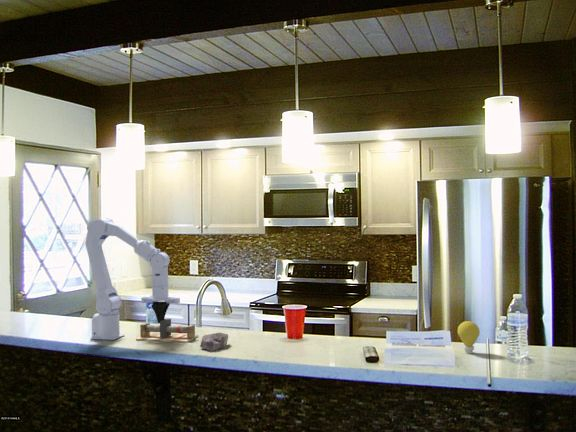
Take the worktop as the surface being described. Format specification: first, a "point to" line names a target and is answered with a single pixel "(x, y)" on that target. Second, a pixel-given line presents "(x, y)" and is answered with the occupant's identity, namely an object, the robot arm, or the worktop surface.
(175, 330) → the pipe rig
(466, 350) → the light bulb
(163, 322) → the collar
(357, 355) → the worktop surface
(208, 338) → the rock
